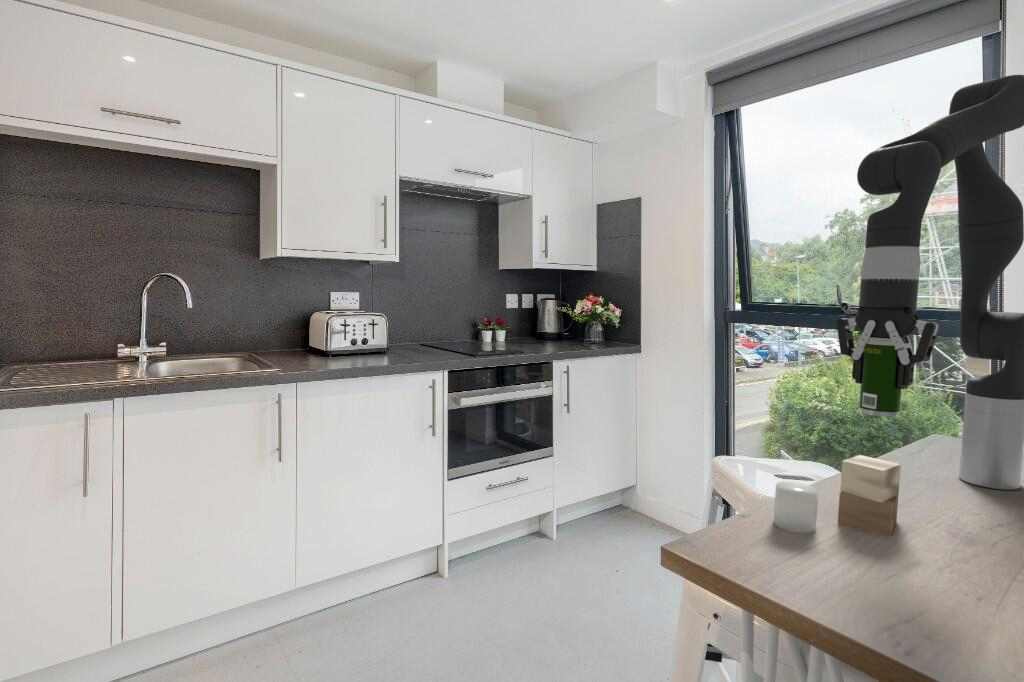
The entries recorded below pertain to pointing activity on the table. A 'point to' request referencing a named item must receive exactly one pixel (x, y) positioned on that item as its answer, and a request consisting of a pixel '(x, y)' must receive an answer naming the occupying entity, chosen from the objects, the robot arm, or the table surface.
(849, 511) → the base block
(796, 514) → the white rounded cylinder
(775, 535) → the table surface
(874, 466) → the top block
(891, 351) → the guarana soda can
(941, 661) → the table surface
